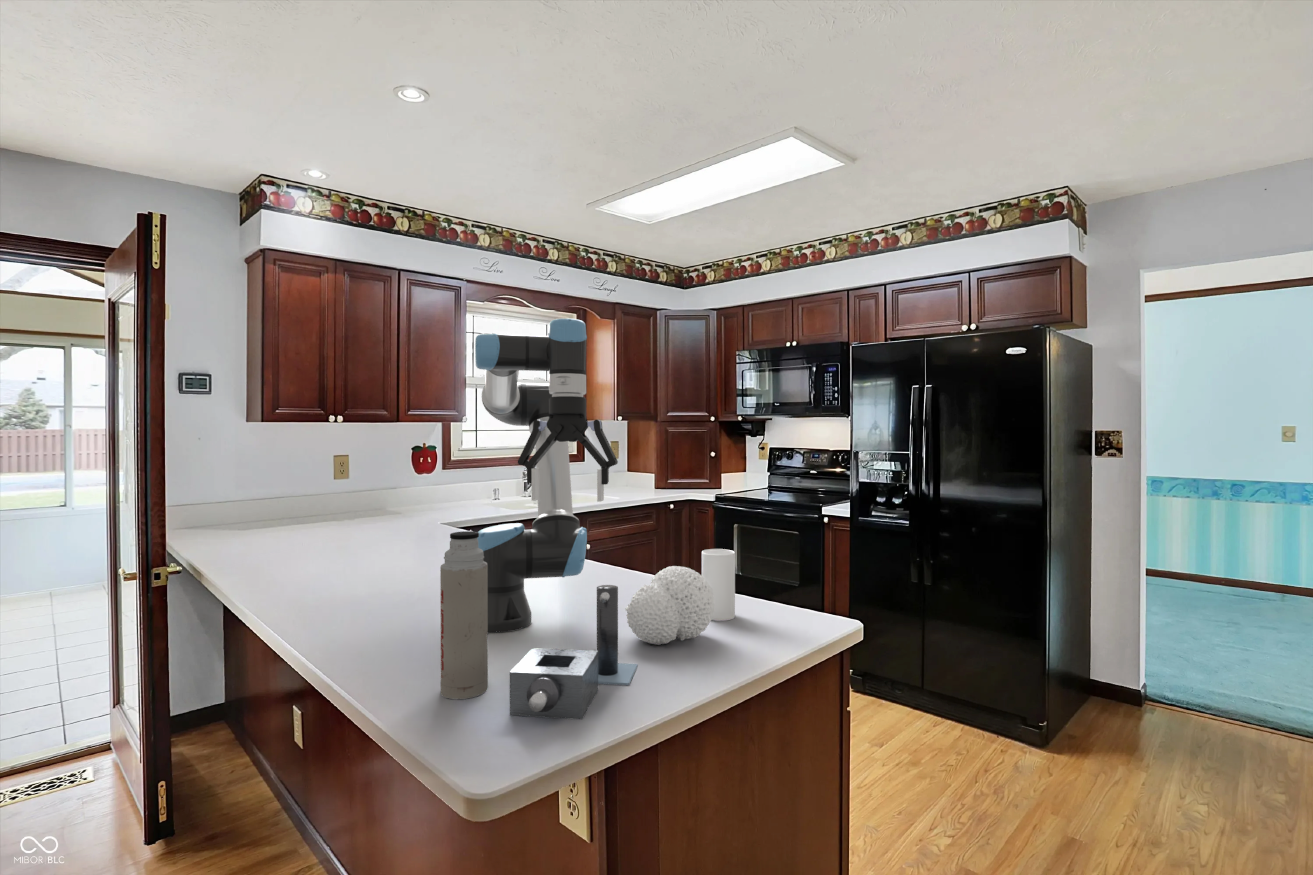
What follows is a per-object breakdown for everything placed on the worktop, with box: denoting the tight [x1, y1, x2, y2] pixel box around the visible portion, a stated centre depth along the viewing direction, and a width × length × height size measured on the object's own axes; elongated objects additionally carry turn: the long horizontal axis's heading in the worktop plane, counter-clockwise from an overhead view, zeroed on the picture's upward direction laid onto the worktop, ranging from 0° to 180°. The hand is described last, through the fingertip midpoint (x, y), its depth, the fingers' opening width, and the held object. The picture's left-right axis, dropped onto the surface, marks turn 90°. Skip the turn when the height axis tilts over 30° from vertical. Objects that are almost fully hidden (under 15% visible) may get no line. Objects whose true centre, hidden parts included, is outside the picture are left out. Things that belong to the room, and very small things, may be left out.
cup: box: [701, 548, 736, 622], centre depth 165 cm, size 8×8×16 cm
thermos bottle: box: [440, 530, 489, 700], centre depth 118 cm, size 8×8×28 cm
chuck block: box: [509, 647, 599, 720], centre depth 110 cm, size 12×17×7 cm
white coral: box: [625, 565, 714, 646], centre depth 147 cm, size 20×18×16 cm
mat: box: [598, 662, 638, 686], centre depth 126 cm, size 10×10×1 cm
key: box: [596, 584, 619, 676], centre depth 126 cm, size 7×4×16 cm, turn 173°
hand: (567, 500), depth 136 cm, fingers open, 13 cm apart
